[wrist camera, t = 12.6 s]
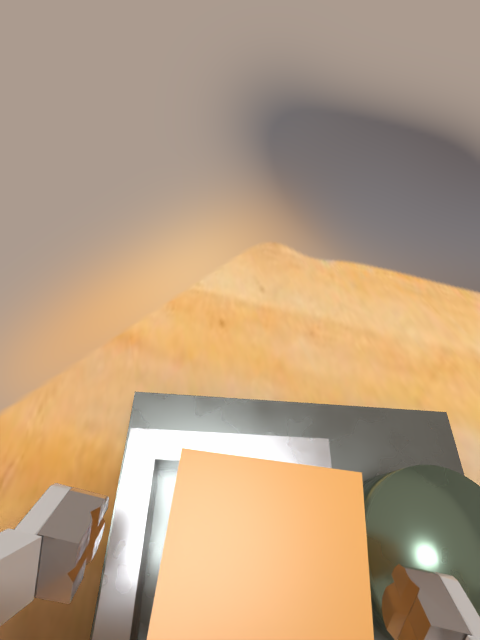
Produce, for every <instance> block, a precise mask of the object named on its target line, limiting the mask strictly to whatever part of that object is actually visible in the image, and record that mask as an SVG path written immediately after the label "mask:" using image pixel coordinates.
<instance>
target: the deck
mask: <svg viewBox="0 0 480 640" xmlns="http://www.w3.org/2000/svg"><path fill="white" fill-rule="evenodd" d="M182 448H186V449H193V450H201V451H208V452H215V453H223V454H230V455H237V456H245V457H252V458H259V459H267V460H274V461H281V462H289V463H296V464H303V465H310V466H318V467H325V468H332V469H340V470H347V471H354V472H362V481H363V494H364V508H365V522H366V536H367V550H368V563H369V577H370V591H371V605H372V618H373V632H374V640H395V639H394V638H393V637H392V636H391V634H390V633H389V632H388V631H387V629H386V626H385V623H384V620H383V614H382V597H383V594H384V591H385V588H386V587H387V586H389V585H390V584H392V583H393V582H394V581H393V578H392V575H391V574H392V572H393V570H394V567H396V566H397V565H398V564H400V565H405V566H409V567H414V568H418V569H423V570H427V571H431V572H437V573H442V574H446V575H451V576H453V577H454V578H455V579H457V580H458V582H459V583H460V585H461V587H462V588H463V590H464V592H465V593H466V595H467V597H468V598H469V600H470V602H471V603H472V605H473V607H474V608H475V610H476V612H477V613H478V615H479V617H480V486H479V485H477V484H476V483H475V482H473V481H472V480H470V479H469V478H467V477H465V476H464V473H463V469H462V466H461V462H460V459H459V455H458V452H457V448H456V444H455V441H454V437H453V434H452V430H451V427H450V423H449V420H448V416H447V413H446V412H435V411H420V410H405V409H389V408H374V407H359V406H343V405H328V404H313V403H298V402H282V401H267V400H252V399H237V398H221V397H206V396H191V395H176V394H160V393H145V392H135V395H134V401H133V406H132V412H131V417H130V423H129V428H128V434H127V439H126V444H125V450H124V455H123V461H122V466H121V472H120V477H119V483H118V488H117V494H116V499H115V504H114V510H113V515H112V521H111V526H110V532H109V537H108V543H107V548H106V554H105V559H104V564H103V570H102V575H101V581H100V586H99V592H98V597H97V603H96V608H95V614H94V619H93V624H92V630H91V635H90V640H147V635H148V629H149V624H150V618H151V613H152V607H153V602H154V596H155V591H156V586H157V580H158V575H159V569H160V564H161V558H162V553H163V547H164V542H165V537H166V531H167V526H168V520H169V515H170V509H171V504H172V498H173V493H174V488H175V482H176V477H177V471H178V466H179V460H180V455H181V449H182Z"/></svg>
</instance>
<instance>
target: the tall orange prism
mask: <svg viewBox="0 0 480 640" xmlns="http://www.w3.org/2000/svg"><path fill="white" fill-rule="evenodd" d="M147 640H374V632H373V618H372V605H371V591H370V577H369V563H368V550H367V536H366V522H365V508H364V494H363V481H362V472H354V471H347V470H340V469H332V468H325V467H318V466H310V465H303V464H296V463H289V462H281V461H274V460H267V459H259V458H252V457H245V456H237V455H230V454H223V453H215V452H208V451H201V450H193V449H186V448H182V449H181V455H180V460H179V466H178V471H177V477H176V482H175V488H174V493H173V498H172V504H171V509H170V515H169V520H168V526H167V531H166V537H165V542H164V547H163V553H162V558H161V564H160V569H159V575H158V580H157V586H156V591H155V596H154V602H153V607H152V613H151V618H150V624H149V629H148V635H147Z"/></svg>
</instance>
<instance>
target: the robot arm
mask: <svg viewBox="0 0 480 640" xmlns="http://www.w3.org/2000/svg"><path fill="white" fill-rule="evenodd" d="M108 502H109V497H108V496H105V495H101V494H97V493H94V492H90V491H86V490H82V489H78V488H75V487H73V488H72V487H69V486H65V485H61V484H58V483H55V484H53V485H51V486H50V487H49V488H48V489H47V491H46V492H45V493H44V494H43V495H42V497H41V498H40V499H39V500H38V501H37V503H36V504H35V505H34V506H33V507H32V509H31V510H30V511H29V512H28V513H27V515H26V516H25V517H24V518H23V519H22V521H21V522H20V523H19V524H18V525H17V527H16V528H15V529H14V530H13V529H6V530H4V531H2V532H0V626H1V625H3V624H4V623H5V622H6V621H8V620H9V619H10V618H12V617H13V616H14V615H15V614H17V613H18V612H19V611H20V610H22V609H23V608H24V607H25V606H27V605H28V604H29V603H31V602H32V601H33V600H34V598H40V599H45V600H50V601H55V602H60V603H65V604H70V602H71V600H72V598H73V596H74V594H75V593H76V591H77V589H78V587H79V585H80V583H81V581H82V579H83V575H84V570H85V565H87V564H88V563H90V562H91V561H92V559H93V557H94V555H95V553H96V551H97V548H98V546H99V543H100V541H101V538H102V534H103V530H104V526H105V521H104V519H103V516H104V514H105V512H106V510H107V509H108ZM391 575H392V578H393V581H394V582H393V583H392V584H390V585H389V586H387V587H386V588H385V591H384V594H383V597H382V614H383V620H384V623H385V626H386V629H387V631H388V632H389V633H390V634H391V636H392V637H393V638H394V639H395V640H480V617H479V615H478V613H477V612H476V610H475V608H474V607H473V605H472V603H471V602H470V600H469V598H468V597H467V595H466V593H465V592H464V590H463V588H462V587H461V585H460V583H459V582H458V580H457V579H455V578H454V577H453V576H451V575H446V574H442V573H437V572H431V571H427V570H423V569H418V568H414V567H409V566H405V565H400V564H398V565H397V566H396V567H394V570H393V572H392V574H391Z"/></svg>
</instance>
